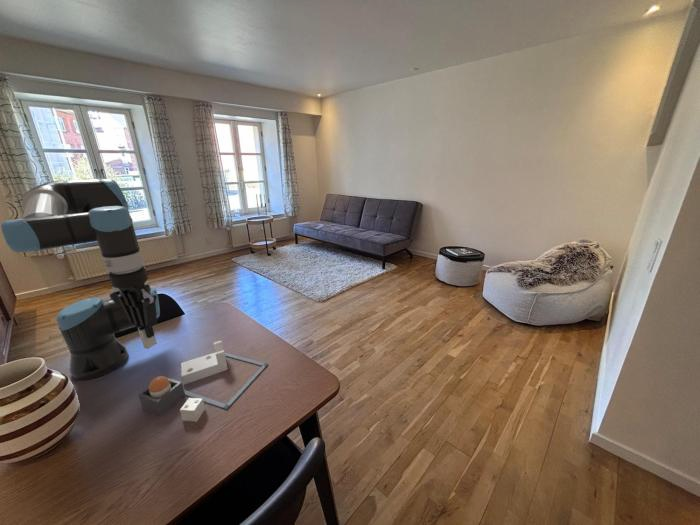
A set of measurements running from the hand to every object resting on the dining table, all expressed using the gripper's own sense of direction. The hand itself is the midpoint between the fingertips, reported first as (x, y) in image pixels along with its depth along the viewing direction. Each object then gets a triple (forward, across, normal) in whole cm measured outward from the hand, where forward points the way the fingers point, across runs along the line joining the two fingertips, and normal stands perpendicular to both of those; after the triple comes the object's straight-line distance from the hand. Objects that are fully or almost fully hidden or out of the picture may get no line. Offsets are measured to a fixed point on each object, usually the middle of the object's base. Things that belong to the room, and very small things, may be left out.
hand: (150, 345), depth 79 cm
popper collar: (+17, +3, -3) cm, 18 cm away
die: (+17, +15, -3) cm, 23 cm away
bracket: (+18, +4, +12) cm, 21 cm away
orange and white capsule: (+16, +3, -3) cm, 17 cm away
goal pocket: (+17, +13, +11) cm, 24 cm away
